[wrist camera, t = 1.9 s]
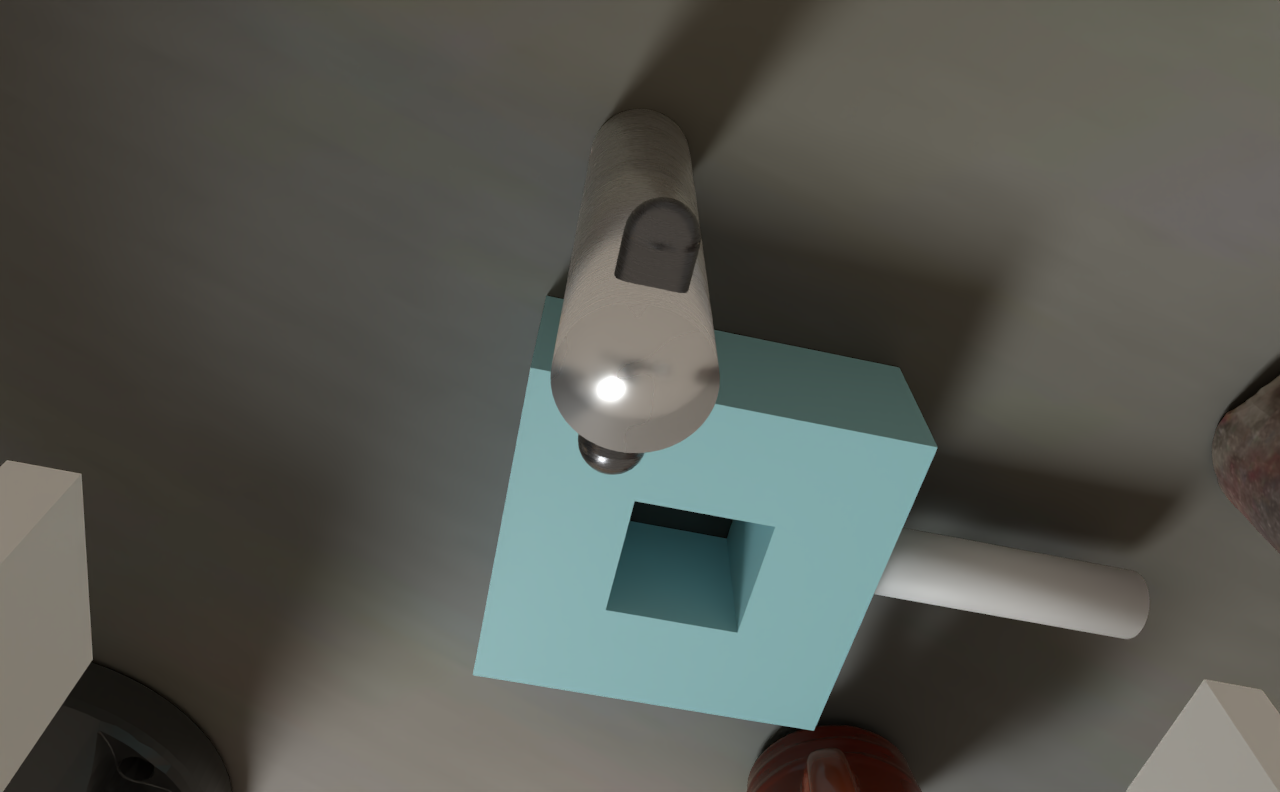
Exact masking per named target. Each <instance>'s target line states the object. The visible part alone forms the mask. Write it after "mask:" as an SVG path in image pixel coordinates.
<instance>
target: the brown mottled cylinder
mask: <svg viewBox="0 0 1280 792" xmlns="http://www.w3.org/2000/svg"><path fill="white" fill-rule="evenodd" d="M1212 459H1213V466H1214V471H1215V473H1216V475H1217V479H1218V484H1219V486H1220V488H1221V490H1222V491H1223V493H1224V494H1225V495H1226V497H1227V498H1228V499H1229V500H1230V501H1231V502H1232V504H1233V505H1234V506H1235V507H1236V508H1237V509H1238V510H1239V511H1240V512H1241V513H1242V514H1243V515H1244V516H1245V517H1246V518H1247V519H1248V520H1249V521H1250V523H1251V524H1252V525H1253V526H1254V527H1255V528H1256V529H1257V530H1258V531H1259V532H1260V534H1261V535H1262V536H1263V537H1264V538H1265V539H1266V540H1267V541H1268V542H1269V543H1270V544H1271V545H1272V546H1273V547H1274V548H1275V549H1276V550H1277V551H1278V552H1279V553H1280V375H1279V376H1278V377H1277V378H1275V379H1274V380H1273V381H1272V382H1271V383H1269V384H1268V385H1266V386H1264V387H1262V388H1261V389H1260V390H1259V391H1258V392H1257V393H1256V394H1255V395H1254V396H1253V397H1251V398H1249V399H1248V400H1247V401H1246V402H1244V403H1243V404H1241V405H1240V406H1238V407H1237V408H1235V409H1233V410H1231V411H1229V412H1227V413H1226V415H1225V416H1224V417H1223V419H1222V420H1221V422H1220V423H1219V424H1218V426H1217V428H1216V431H1215V435H1214V438H1213V442H1212Z"/></svg>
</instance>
